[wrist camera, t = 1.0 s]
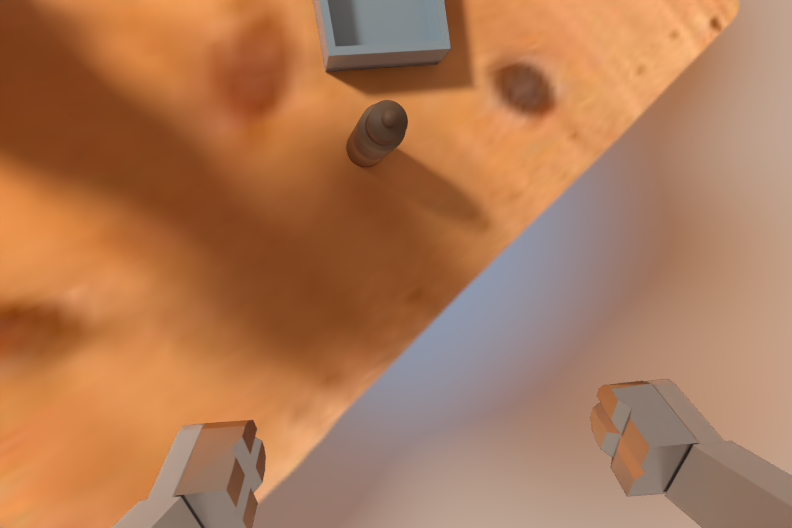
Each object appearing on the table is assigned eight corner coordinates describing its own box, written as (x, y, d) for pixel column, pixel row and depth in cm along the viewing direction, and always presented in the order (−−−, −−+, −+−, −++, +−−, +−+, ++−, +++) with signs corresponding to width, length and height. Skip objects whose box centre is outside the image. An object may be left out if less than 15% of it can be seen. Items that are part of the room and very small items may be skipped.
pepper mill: (343, 131, 42) (363, 92, 30) (379, 127, 43) (412, 88, 31) (349, 169, 42) (371, 145, 31) (385, 164, 43) (419, 139, 32)
